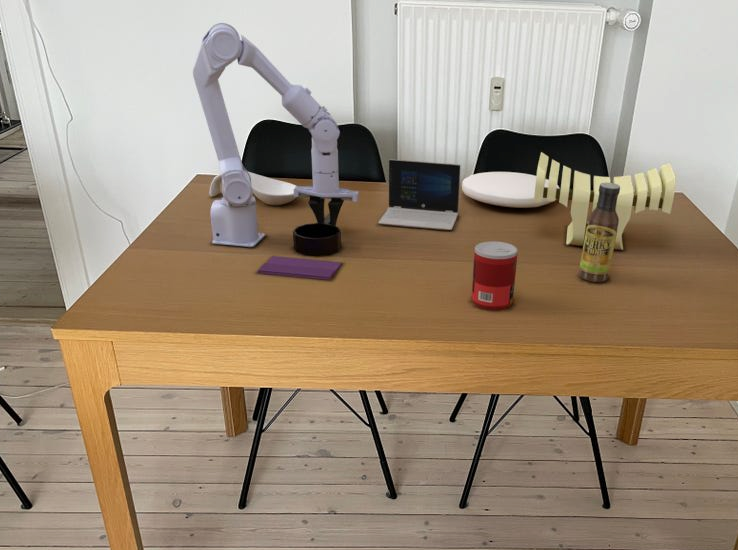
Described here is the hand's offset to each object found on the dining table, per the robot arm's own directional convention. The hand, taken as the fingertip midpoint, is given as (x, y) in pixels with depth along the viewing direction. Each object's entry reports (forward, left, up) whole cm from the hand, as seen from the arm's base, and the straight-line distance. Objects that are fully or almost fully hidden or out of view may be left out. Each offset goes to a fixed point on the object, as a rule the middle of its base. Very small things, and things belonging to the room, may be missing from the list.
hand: (327, 229), depth 167 cm
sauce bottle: (+61, -11, -2) cm, 62 cm away
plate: (+40, +40, -2) cm, 56 cm away
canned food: (+41, -28, -2) cm, 49 cm away
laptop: (+19, +16, -2) cm, 25 cm away
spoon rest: (-25, +21, -2) cm, 33 cm away
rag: (0, -20, -2) cm, 20 cm away
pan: (0, -4, -2) cm, 5 cm away
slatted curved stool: (+62, +13, -2) cm, 63 cm away
